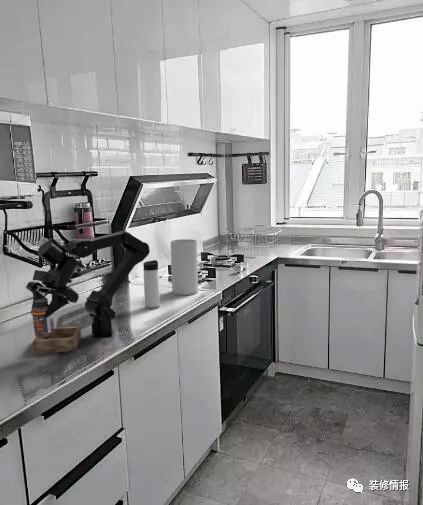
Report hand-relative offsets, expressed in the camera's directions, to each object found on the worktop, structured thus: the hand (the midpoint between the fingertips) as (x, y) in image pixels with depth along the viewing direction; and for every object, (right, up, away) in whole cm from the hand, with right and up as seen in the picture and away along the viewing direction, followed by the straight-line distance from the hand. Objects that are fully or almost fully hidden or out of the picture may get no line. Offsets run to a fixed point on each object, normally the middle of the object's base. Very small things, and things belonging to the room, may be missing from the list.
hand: (38, 315), depth 143 cm
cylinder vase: (+41, 0, +80) cm, 90 cm away
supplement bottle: (+1, -7, +2) cm, 7 cm away
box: (+2, -11, +12) cm, 17 cm away
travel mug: (+28, -4, +55) cm, 62 cm away
